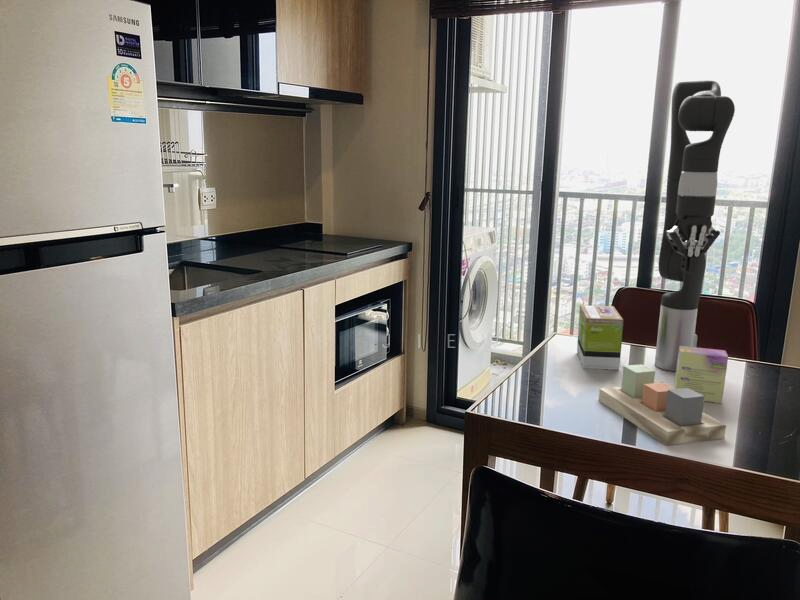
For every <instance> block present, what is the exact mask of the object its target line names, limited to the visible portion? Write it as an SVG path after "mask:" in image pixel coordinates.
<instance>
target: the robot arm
mask: <svg viewBox="0 0 800 600" xmlns="http://www.w3.org/2000/svg"><path fill="white" fill-rule="evenodd" d="M672 90H673V91H672V96H671V116H670V117H671V119H670V125H671V126H670V150H669V151H670V152H669V160H668V169H667V170H668V172H667V178H666V195H665V197H666V198H665V211H664V212H665V213H664V214H665V215H664V222H663V223H664V224H663V231H662V236H661V242H660V243H661V244H660V249H659V256H658V272H659V275H660V277H661V278H663V279H665V280H670V281H674V282H675V281H676V282H680V283H681V282H682V286H681V289H679V290H676V291H671V292H670V291H669V292H666V293H663V294H662V296H661V300H660V309H659V311H660V312H659V320H658V327H657V328H658V329H657V336H656V338H657V340H656V348H655V355H654V356H655V358H654V366H655V367H656V368H657V367H658V368H660V369H662V370H666V371H669V372H670V371H671V372H676V369H677V361H678V353H679V346H688V347H697V343H698V335H697V334H696V325H697V316H698V308H699V302H700V298H701V295H702V288H703V282H704V278H705V271H706V266H707V265H706V263H707V257H706V254H707V252H708V250H709V249H710V248H711V247H712V245H713V244H714V243H715V241H716V240H717V238H718V237H719V236H720V234H721V231H720V230H716V229H715V228H714V227H713V226H712V225H713V221H712V217H713V216H714V214H715V207H716V206H715V205H716V198H717V192H718V191H717V189H718V170H719V162H720V155H721V149H722V146H723V143H724V140H725V137H726V134H727V132H728V130H729V128H730V126H731V124H732V122H733V118H734V116H735V109H736V108H735V103H734V101H733V99H731V98H730V97H729V96H722V91H721V90H722V89H721V86H720V84H719V83H718V82H717V81H715V80H708V79H706V80H690V81H689V80H688V81H687V80H686V81H685V80H684V81H678V82H677V83H675V85H674V88H673V89H672ZM687 132H712V133H711V136H710V137H709V138H708V139H706V140H703V141H699V142H692V143H691V141H690V139H689V136H688V134H687ZM705 253H706V254H705Z"/></svg>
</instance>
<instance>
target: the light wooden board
mask: <svg viewBox="0 0 800 600" xmlns="http://www.w3.org/2000/svg"><path fill="white" fill-rule="evenodd" d="M598 401H599V402H600V403H602V404H603V405H605V406H607V407H608V408H609V409H611V410H613V412H616V413H617V414H618V415H619V416H621V417H623V418H624V419H625V420H628V421H629V422H631V423H632V424H633V425H635V426H636V427H638V428H640V429H641V430H642V431H644V432H646V433H647V434H649V435H650V436H651V437H653V438H654V439H656V440H657V441H659V442H661V443H662V444H664V445H665V446H674V445H683V444H689V443H690V444H691V443H698V442H707V441H714V440H716V441H717V440H721V439H723V440H724V439H725V435H726V428H727V425H726V424H725V423H723V422H722V421H720V420H718V419H716V418H714V417H712V416H711V415H709V414H706V413H705V412H703V411H702V419H701V424H700V425H692V426H683V427H680V426H678V425H676V424H675V423H673V422H671V421H670V420H668V419H666V418H665V411H660V412H655V411H653V410H651V409H650V408H648V407H646V406H645V405H643V404H642V398H634V399H633V398H631V397H630V396H628V395H627V394H625V393H623V392H622V391H621V386H612V387H611V386H610V387H602V388H599V393H598Z"/></svg>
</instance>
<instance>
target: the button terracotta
mask: <svg viewBox="0 0 800 600" xmlns="http://www.w3.org/2000/svg"><path fill="white" fill-rule="evenodd" d="M670 389H675V388H674V387H673V386H672V385H669V384H667V383H666V382H654V383H650V384H644V387H643V396H642V404H643V405H645V406H646V407H648V408H650V409H651V410H653V411H655V412H660V411H666V402H667V393H668V390H670Z"/></svg>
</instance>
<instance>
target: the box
mask: <svg viewBox="0 0 800 600" xmlns="http://www.w3.org/2000/svg"><path fill="white" fill-rule="evenodd" d="M728 360H729V355H728V353H727V351H726V350H725V349H724V350H723V349H716V348H715V349H713V348H705V347H704V348H703V347H697V346H696V347H688V346H679V353H678V361H677V369H676V371H675V378H674V387H673V388H675V389H680V388H689V389H691V390H693V391H695V392H697V393H699V394H701V395H703V396H704V402H710V403H711V402H712V403H716V404H723V398H724V391H725V390H724V389H725V383H726V375H727V367H728Z"/></svg>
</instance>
